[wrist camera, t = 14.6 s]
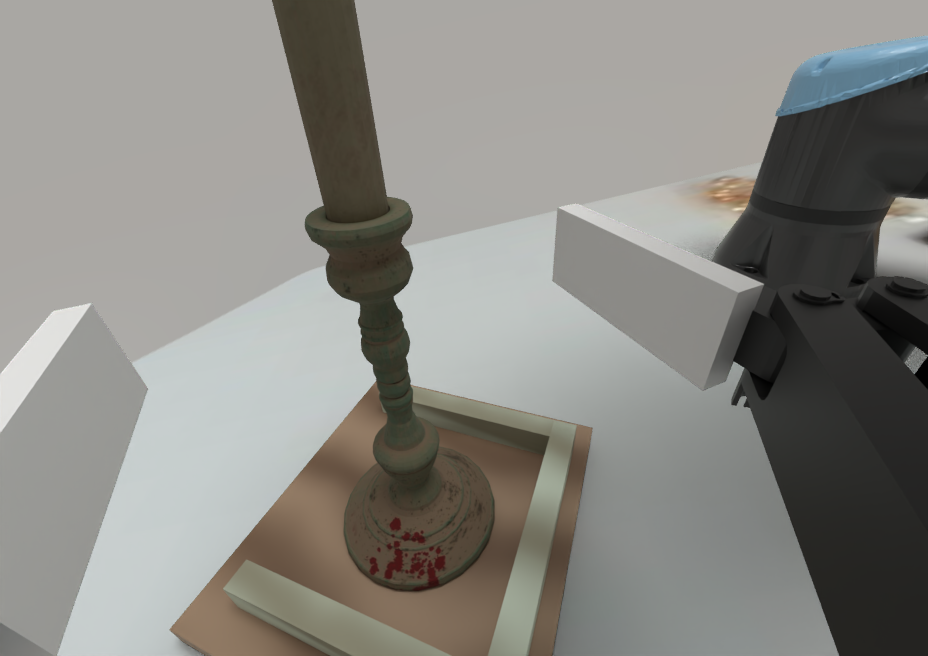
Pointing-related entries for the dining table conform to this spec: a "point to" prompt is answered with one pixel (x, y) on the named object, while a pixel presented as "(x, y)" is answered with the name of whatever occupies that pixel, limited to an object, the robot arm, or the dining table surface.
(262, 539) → the railed board
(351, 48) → the candlestick holder
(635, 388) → the dining table surface
